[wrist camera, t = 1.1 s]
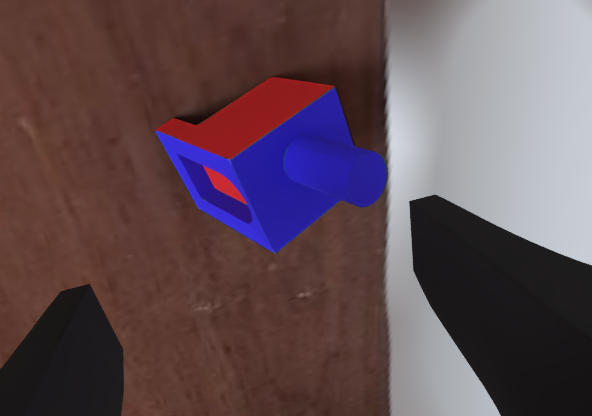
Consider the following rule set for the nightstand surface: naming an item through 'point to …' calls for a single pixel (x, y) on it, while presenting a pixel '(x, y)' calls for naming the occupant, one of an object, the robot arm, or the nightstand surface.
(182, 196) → the nightstand surface
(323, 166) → the toy building block
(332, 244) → the nightstand surface
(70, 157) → the nightstand surface
